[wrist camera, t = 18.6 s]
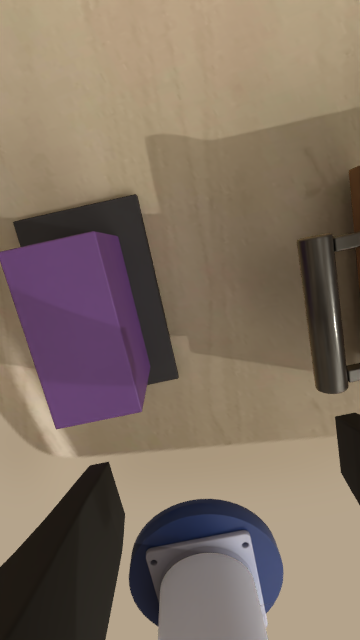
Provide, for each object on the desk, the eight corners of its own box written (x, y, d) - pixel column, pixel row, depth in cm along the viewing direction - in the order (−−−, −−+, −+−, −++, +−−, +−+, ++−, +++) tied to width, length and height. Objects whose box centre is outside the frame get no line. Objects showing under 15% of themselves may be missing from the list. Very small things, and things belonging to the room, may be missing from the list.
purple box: (118, 235, 18) (94, 230, 13) (150, 367, 20) (142, 412, 14) (48, 250, 18) (-4, 252, 13) (87, 380, 20) (55, 430, 15)
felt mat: (178, 375, 20) (178, 378, 20) (71, 397, 21) (68, 401, 20) (137, 195, 18) (136, 193, 18) (16, 222, 18) (12, 221, 18)
